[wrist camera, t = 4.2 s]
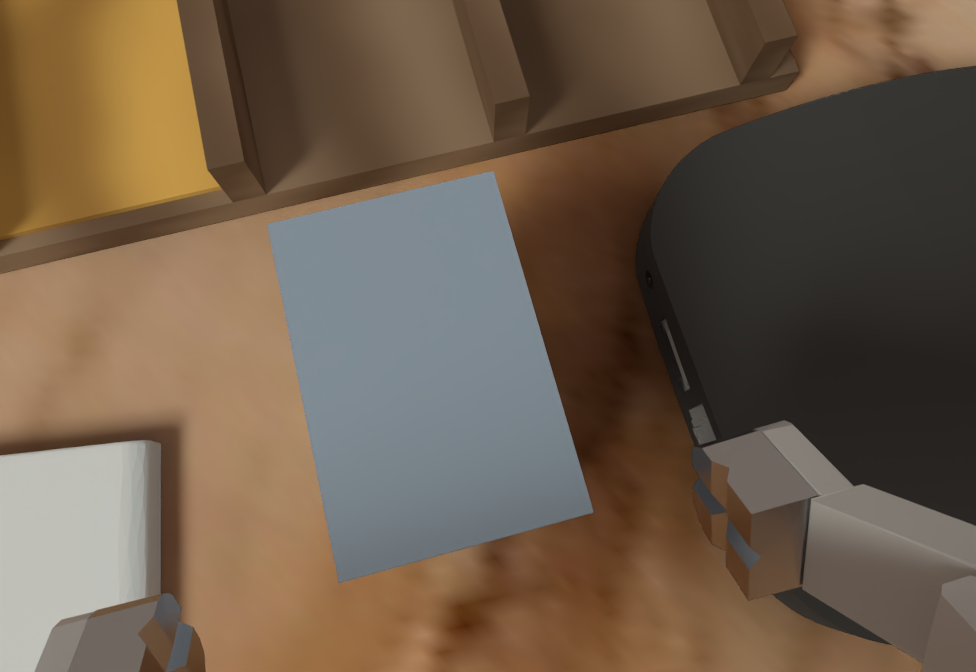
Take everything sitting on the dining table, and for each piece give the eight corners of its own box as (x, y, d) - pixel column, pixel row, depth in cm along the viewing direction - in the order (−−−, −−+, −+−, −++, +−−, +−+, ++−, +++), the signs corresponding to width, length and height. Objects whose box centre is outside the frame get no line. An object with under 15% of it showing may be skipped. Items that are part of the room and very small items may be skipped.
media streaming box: (1241, 511, 20) (1371, 510, 17) (773, 671, 19) (827, 700, 16) (1005, 84, 24) (1079, 23, 21) (597, 196, 22) (615, 148, 19)
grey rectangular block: (488, 316, 21) (493, 170, 12) (543, 515, 19) (593, 512, 11) (357, 348, 21) (267, 224, 12) (403, 553, 19) (339, 582, 10)
